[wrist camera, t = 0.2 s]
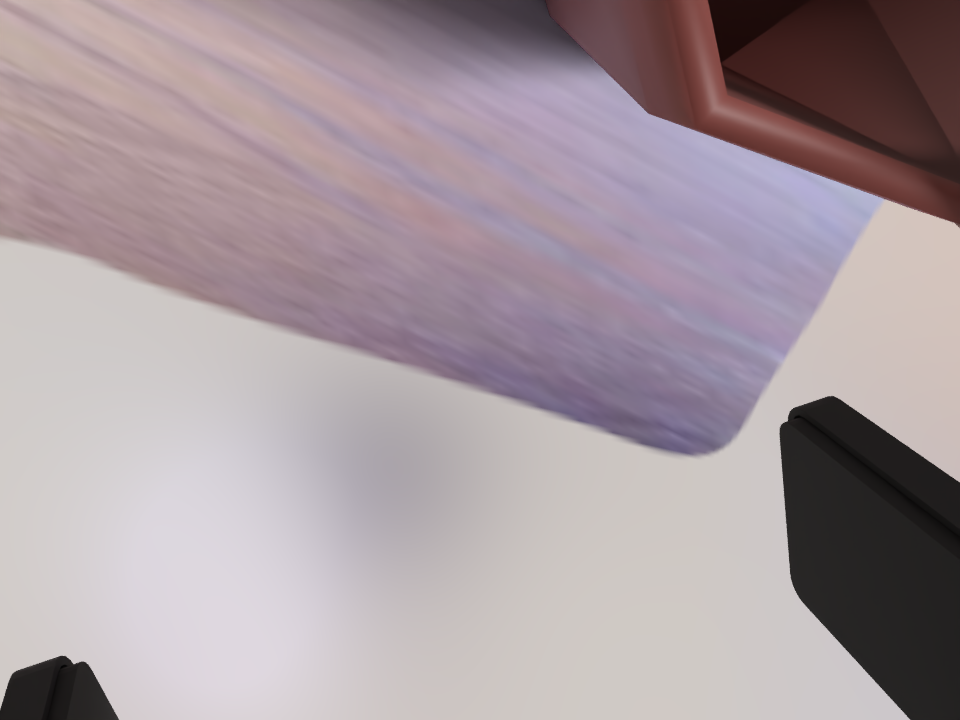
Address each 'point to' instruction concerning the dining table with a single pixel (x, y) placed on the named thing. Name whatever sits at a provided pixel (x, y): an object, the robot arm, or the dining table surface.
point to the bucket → (798, 82)
